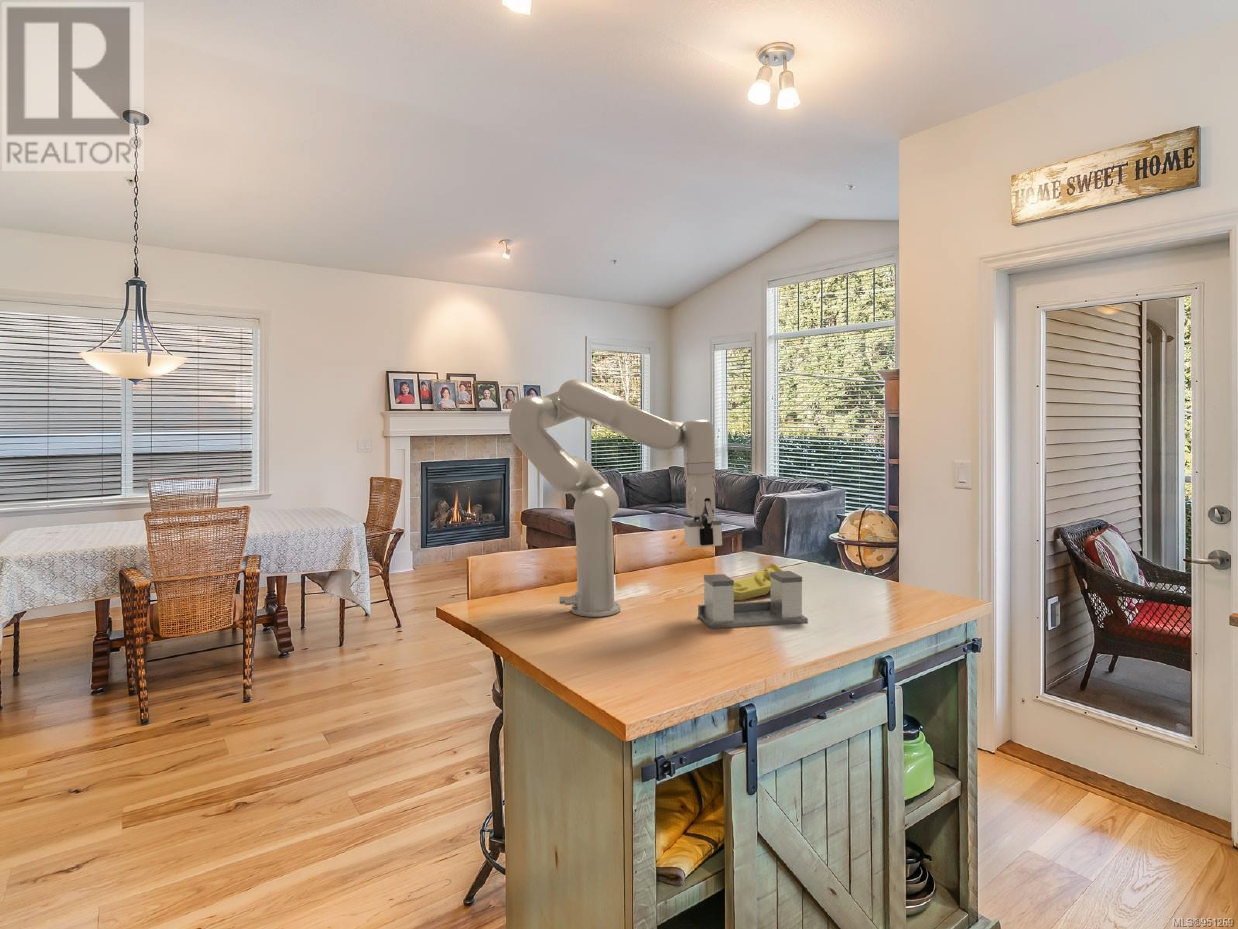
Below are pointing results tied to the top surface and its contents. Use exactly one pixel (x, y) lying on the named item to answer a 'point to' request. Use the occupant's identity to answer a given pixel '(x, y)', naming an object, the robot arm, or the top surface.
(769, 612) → the grey fixture holder
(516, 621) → the top surface
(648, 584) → the top surface
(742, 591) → the plastic component
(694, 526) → the block
